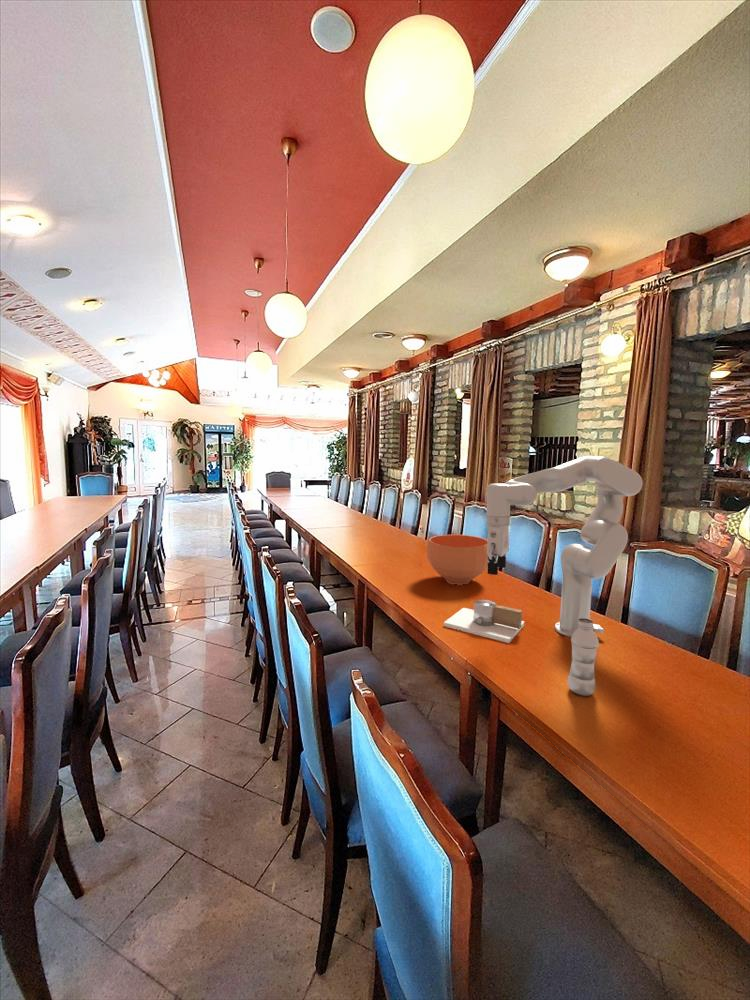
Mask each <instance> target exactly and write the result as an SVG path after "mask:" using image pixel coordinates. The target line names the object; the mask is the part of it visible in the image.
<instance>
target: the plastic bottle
mask: <svg viewBox="0 0 750 1000" xmlns="http://www.w3.org/2000/svg"><path fill="white" fill-rule="evenodd" d="M593 625H595V623H594V621H593V619H591V618H590V619H586V618H579V619H578V624H577V626H578V629H577V630H576V631H575V632H574V633H573V634H572V637H570V643H571V665H570V669H569V670H570V671H569V674H568V676H567V685H568V687H569V689H570V691H571V692H573V693H574V694H576V695H580V696H591V695H592V694H593V693H594V692H595V689H596V679H595V678H596V677H595V662H596V657H597V656H596V655H597V652H598V648H599V638H598V637H597V635H596V632H593V629H594V626H593Z"/></svg>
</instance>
